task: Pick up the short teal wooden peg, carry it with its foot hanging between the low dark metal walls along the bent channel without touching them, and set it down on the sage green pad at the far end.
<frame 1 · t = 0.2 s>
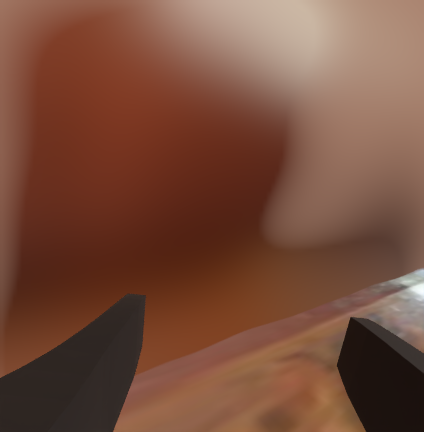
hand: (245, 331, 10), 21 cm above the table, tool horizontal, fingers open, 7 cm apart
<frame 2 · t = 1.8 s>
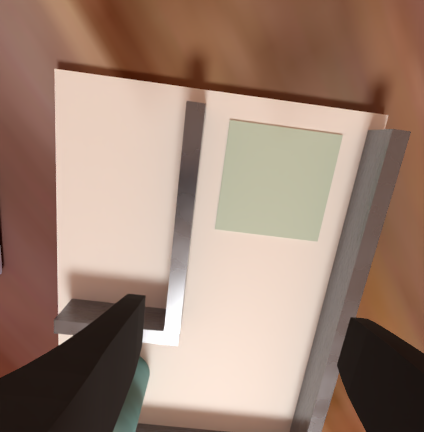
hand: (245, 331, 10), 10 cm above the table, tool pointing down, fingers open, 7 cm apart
maze board: (198, 296, 21), on the table
peg: (124, 372, 22), resting on maze board
guide walls: (204, 310, 20), on the maze board, point 1 cm above the table
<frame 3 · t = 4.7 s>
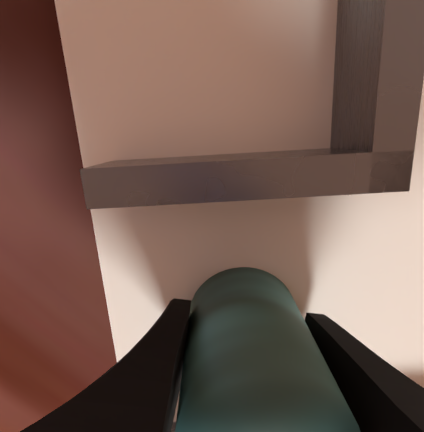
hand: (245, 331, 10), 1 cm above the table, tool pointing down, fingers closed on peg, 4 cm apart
maze board: (386, 112, 9), on the table
peg: (242, 315, 11), resting on maze board, touching gripper
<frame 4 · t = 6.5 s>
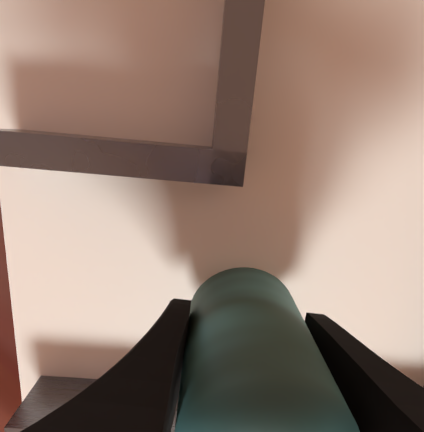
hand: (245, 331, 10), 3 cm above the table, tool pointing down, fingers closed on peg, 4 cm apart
maze board: (266, 124, 11), on the table
peg: (241, 315, 11), point 2 cm above the table, touching gripper
guide walls: (292, 123, 9), on the maze board
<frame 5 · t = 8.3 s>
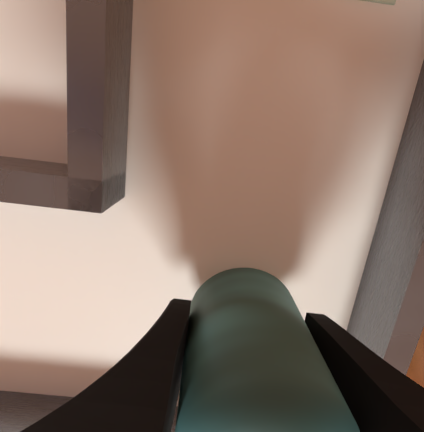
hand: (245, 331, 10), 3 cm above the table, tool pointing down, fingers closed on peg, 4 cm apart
maze board: (156, 146, 11), on the table
peg: (241, 316, 11), point 2 cm above the table, touching gripper
guide walls: (162, 150, 9), on the maze board
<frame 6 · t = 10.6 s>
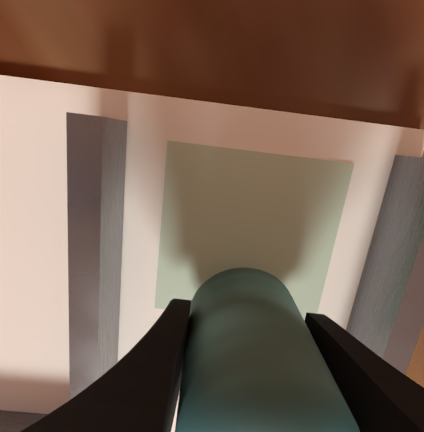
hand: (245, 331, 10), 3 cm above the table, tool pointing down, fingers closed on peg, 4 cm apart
maze board: (139, 396, 14), on the table
peg: (241, 316, 11), point 2 cm above the table, touching gripper
when the fingers open (2 cm above the table, at t = 12.3 s): peg stays where it is, resting on maze board.
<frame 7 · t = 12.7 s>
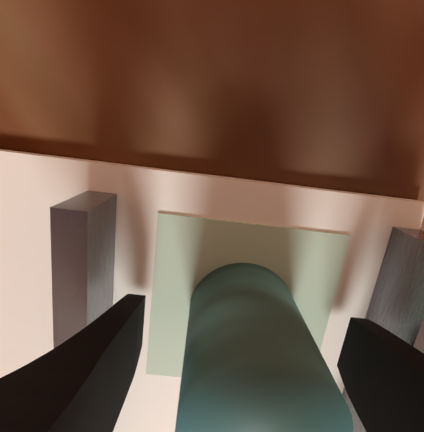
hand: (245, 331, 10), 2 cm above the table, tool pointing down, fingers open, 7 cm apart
peg: (241, 309, 11), point 1 cm above the table, touching maze board
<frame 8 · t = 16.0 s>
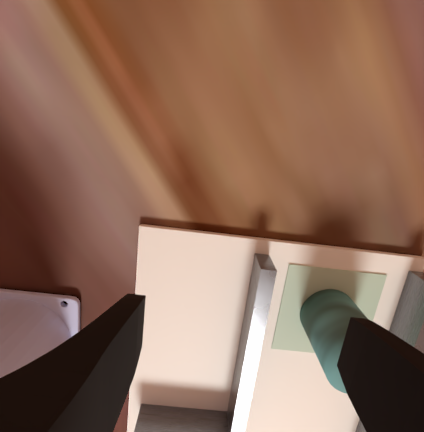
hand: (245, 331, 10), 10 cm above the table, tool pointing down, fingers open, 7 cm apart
maze board: (252, 398, 24), on the table
peg: (327, 313, 21), point 1 cm above the table, touching maze board
guide walls: (261, 419, 22), on the maze board
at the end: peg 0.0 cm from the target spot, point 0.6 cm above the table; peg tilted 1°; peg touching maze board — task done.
